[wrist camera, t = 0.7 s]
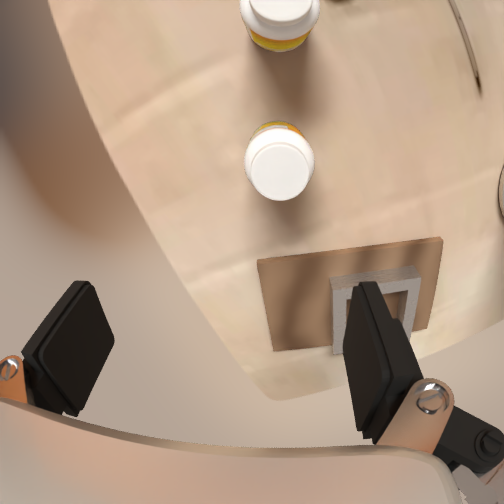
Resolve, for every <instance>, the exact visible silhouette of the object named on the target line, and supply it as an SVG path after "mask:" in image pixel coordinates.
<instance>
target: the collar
mask: <svg viewBox="0 0 504 504" xmlns="http://www.w3.org/2000/svg"><path fill="white" fill-rule="evenodd" d="M329 280H330V308H331V343H332V349H333V355H335V354H342V353H343V339H344V334H345V329H346V299H351V296H352V290H353V287H354V286H358V284H359V282H363V281H376V282H377V284H378V286H379V288H380V291H381V293H382V294H387V293H393V292H399V291H400V294H399V302H398V309H397V316H396V318H398V319H399V320H400V321H401V323H402V325H403V328H404V330H405V332H406V335H407V337H408V340H409V341H410V337H411V332H412V327H413V323H414V318H415V313H416V307H417V302H418V296H419V290H420V284H421V276H420V274H419V273H418V271H417V269H416V268H415V266H414V265H413V266H406V267H399V268H392V269H385V270H378V271H371V272H364V273H357V274H349V275H342V276H334V277H329Z"/></svg>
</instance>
